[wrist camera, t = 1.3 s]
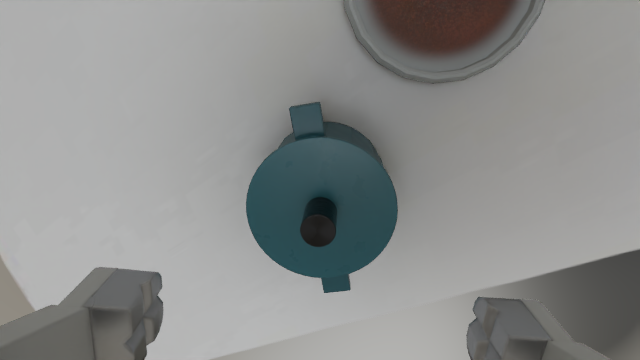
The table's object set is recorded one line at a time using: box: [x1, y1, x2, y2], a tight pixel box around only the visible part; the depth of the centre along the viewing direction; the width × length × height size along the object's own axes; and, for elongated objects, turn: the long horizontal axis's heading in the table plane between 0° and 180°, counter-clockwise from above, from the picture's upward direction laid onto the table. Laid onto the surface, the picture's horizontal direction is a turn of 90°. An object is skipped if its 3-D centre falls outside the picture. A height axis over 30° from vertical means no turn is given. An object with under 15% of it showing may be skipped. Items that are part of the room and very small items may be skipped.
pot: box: [279, 102, 383, 293], centre depth 37 cm, size 11×17×8 cm
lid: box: [246, 136, 398, 278], centre depth 31 cm, size 12×12×5 cm
